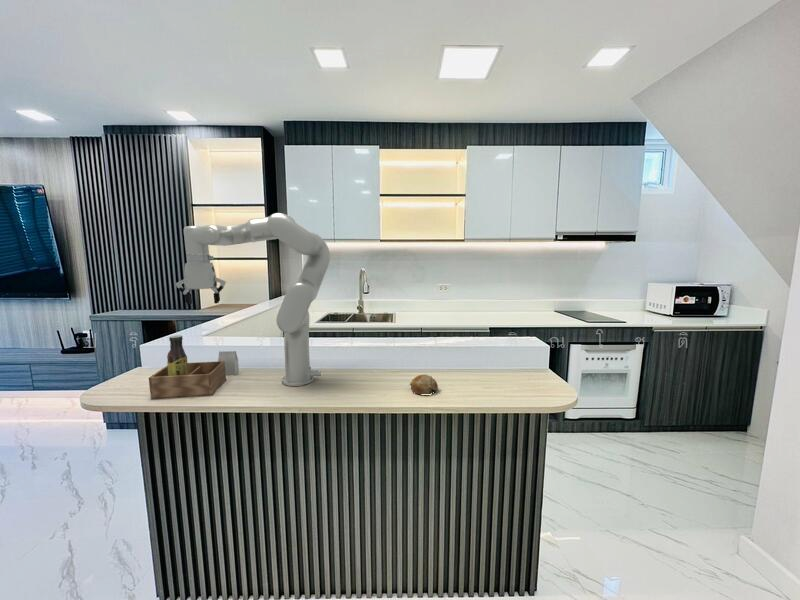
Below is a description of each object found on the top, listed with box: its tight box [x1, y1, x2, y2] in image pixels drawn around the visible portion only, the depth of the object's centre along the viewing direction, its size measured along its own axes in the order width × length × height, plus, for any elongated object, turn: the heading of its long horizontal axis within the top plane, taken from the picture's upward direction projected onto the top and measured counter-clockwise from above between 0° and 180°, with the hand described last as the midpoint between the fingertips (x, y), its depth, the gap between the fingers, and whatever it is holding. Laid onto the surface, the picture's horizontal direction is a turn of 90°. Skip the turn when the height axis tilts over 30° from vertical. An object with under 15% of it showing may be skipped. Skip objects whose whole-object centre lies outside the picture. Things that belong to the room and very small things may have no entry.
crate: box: [148, 360, 227, 400], centre depth 126 cm, size 20×15×8 cm
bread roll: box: [409, 374, 438, 395], centre depth 127 cm, size 10×10×8 cm
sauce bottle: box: [166, 334, 188, 376], centre depth 125 cm, size 7×6×20 cm
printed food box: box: [217, 350, 240, 376], centre depth 142 cm, size 4×7×10 cm, turn 95°
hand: (203, 303), depth 129 cm, fingers open, 9 cm apart
